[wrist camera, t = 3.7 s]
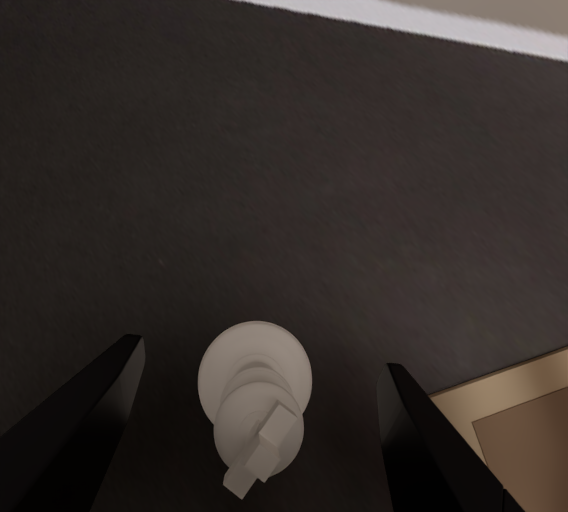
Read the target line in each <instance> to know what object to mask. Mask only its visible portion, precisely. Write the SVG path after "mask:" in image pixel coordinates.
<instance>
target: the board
mask: <svg viewBox="0 0 568 512" xmlns="http://www.w3.org/2000/svg"><path fill="white" fill-rule="evenodd" d="M428 396H429V397H430V399H431V400H432V401H433V402H434V403H435V405H436V406H437V407H438V408H439V409H440V411H441V412H442V413H443V414H444V415H445V417H446V418H447V419H448V420H449V421H450V423H451V424H452V425H453V426H454V427H455V428H456V430H457V431H458V432H459V433H460V434H461V436H462V437H463V438H464V439H465V440H466V442H467V443H468V444H469V445H470V446H471V448H472V449H473V450H474V451H475V452H476V454H477V455H478V456H479V457H480V458H481V459H482V461H483V462H484V463H485V464H486V465H487V467H488V468H489V469H490V470H491V471H492V473H493V474H494V475H495V476H496V477H497V479H498V480H499V481H500V482H501V483H502V485H503V487H504V489H507V490H508V491H509V493H510V494H511V495H512V496H513V497H514V499H515V500H516V501H517V502H518V503H519V505H520V506H521V507H522V508H523V509H524V510H525V512H568V346H567V347H564V348H561V349H558V350H556V351H553V352H550V353H547V354H544V355H541V356H539V357H536V358H533V359H530V360H527V361H524V362H522V363H519V364H516V365H513V366H510V367H507V368H505V369H502V370H499V371H496V372H493V373H490V374H487V375H485V376H482V377H479V378H476V379H473V380H470V381H468V382H465V383H462V384H459V385H456V386H453V387H451V388H448V389H445V390H442V391H439V392H436V393H434V394H431V395H428Z"/></svg>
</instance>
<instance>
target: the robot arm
mask: <svg viewBox="0 0 568 512" xmlns="http://www.w3.org/2000/svg"><path fill="white" fill-rule="evenodd" d="M144 364H145V348H144V339H143V337H142V336H140V335H133V334H126V335H124V336H123V337H122V338H120V339H119V340H118V341H117V342H116V343H114V344H113V345H112V346H111V347H109V348H108V349H107V350H106V351H105V352H103V353H102V354H101V355H100V356H98V357H97V358H96V359H95V360H94V361H92V362H91V363H90V364H89V365H87V366H86V367H85V368H84V369H83V370H81V371H80V372H79V373H78V374H76V375H75V376H74V377H73V378H72V379H70V380H69V381H68V382H67V383H65V384H64V385H63V386H62V387H61V388H59V389H58V390H57V391H56V392H54V393H53V394H52V395H51V396H50V397H48V398H47V399H46V400H45V401H43V402H42V403H41V404H40V405H39V406H37V407H36V408H35V409H34V410H32V411H31V412H30V413H29V414H28V415H26V416H25V417H24V418H23V419H21V420H20V421H19V422H18V423H17V424H15V425H14V426H13V427H12V428H10V429H9V430H8V431H7V432H6V433H4V434H3V435H2V436H1V437H0V512H89V511H90V509H91V507H92V504H93V502H94V500H95V497H96V495H97V493H98V490H99V488H100V485H101V483H102V481H103V478H104V476H105V474H106V471H107V469H108V467H109V464H110V462H111V460H112V457H113V455H114V452H115V450H116V448H117V445H118V443H119V441H120V438H121V436H122V434H123V431H124V429H125V426H126V424H127V421H128V418H129V415H130V411H131V408H132V405H133V401H134V398H135V395H136V391H137V388H138V385H139V381H140V378H141V375H142V371H143V368H144ZM376 394H377V405H378V417H379V429H380V440H381V448H382V454H383V459H384V464H385V469H386V474H387V480H388V485H389V490H390V495H391V500H392V505H393V510H394V512H525V510H524V509H523V508H522V507H521V506H520V505H519V503H518V502H517V501H516V500H515V499H514V497H513V496H512V495H511V494H510V493H509V491H508V490H507V489H504V487H503V485H502V483H501V482H500V481H499V480H498V479H497V477H496V476H495V475H494V474H493V473H492V471H491V470H490V469H489V468H488V467H487V465H486V464H485V463H484V462H483V461H482V459H481V458H480V457H479V456H478V455H477V454H476V452H475V451H474V450H473V449H472V448H471V446H470V445H469V444H468V443H467V442H466V440H465V439H464V438H463V437H462V436H461V434H460V433H459V432H458V431H457V430H456V428H455V427H454V426H453V425H452V424H451V423H450V421H449V420H448V419H447V418H446V417H445V415H444V414H443V413H442V412H441V411H440V409H439V408H438V407H437V406H436V405H435V403H434V402H433V401H432V400H431V399H430V397H429V396H428V395H427V394H426V393H425V392H424V390H423V389H422V388H421V387H420V386H419V384H418V383H417V382H416V381H415V380H414V378H413V377H412V376H411V375H410V374H409V372H408V371H407V370H406V369H405V368H404V367H403V366H402V365H401V364H396V363H386V364H385V365H384V367H383V369H382V372H381V374H380V376H379V378H378V381H377V385H376Z"/></svg>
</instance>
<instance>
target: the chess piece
mask: <svg viewBox="0 0 568 512" xmlns="http://www.w3.org/2000/svg"><path fill="white" fill-rule="evenodd" d="M311 389H312V372H311V366H310V362H309V359H308V356H307V354H306V352H305V350H304V348H303V347H302V345H301V344H300V342H299V341H298V340H297V339H296V338H295V337H294V336H293V335H292V334H291V333H290V332H288V331H287V330H286V329H284V328H282V327H280V326H278V325H276V324H273V323H269V322H264V321H249V322H244V323H240V324H237V325H235V326H232V327H230V328H229V329H227V330H225V331H224V332H222V333H221V334H220V335H219V336H218V337H217V338H216V339H215V340H214V341H213V342H212V343H211V344H210V346H209V347H208V349H207V350H206V352H205V354H204V356H203V359H202V361H201V364H200V368H199V373H198V392H199V398H200V402H201V405H202V407H203V409H204V412H205V413H206V415H207V417H208V418H209V420H210V421H211V422H212V423H213V424H214V441H215V445H216V448H217V451H218V453H219V455H220V457H221V459H222V460H223V461H224V463H225V464H226V465H227V466H228V467H229V469H228V471H227V472H226V474H225V476H224V481H223V485H224V486H225V487H227V488H228V489H229V490H230V491H232V492H233V493H234V494H235V495H237V496H238V497H239V498H240V499H243V498H244V496H245V495H246V493H247V492H248V490H249V489H250V487H251V486H252V485H253V483H254V482H255V480H256V479H257V478H259V479H260V480H261V481H262V482H264V483H265V482H266V480H267V479H268V477H270V476H273V475H275V474H277V473H279V472H281V471H282V470H284V469H285V468H286V467H287V466H288V465H289V464H290V463H291V462H292V461H293V459H294V458H295V457H296V455H297V453H298V451H299V449H300V447H301V444H302V440H303V435H304V422H303V416H302V414H303V412H304V411H305V409H306V407H307V404H308V402H309V398H310V395H311Z"/></svg>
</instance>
